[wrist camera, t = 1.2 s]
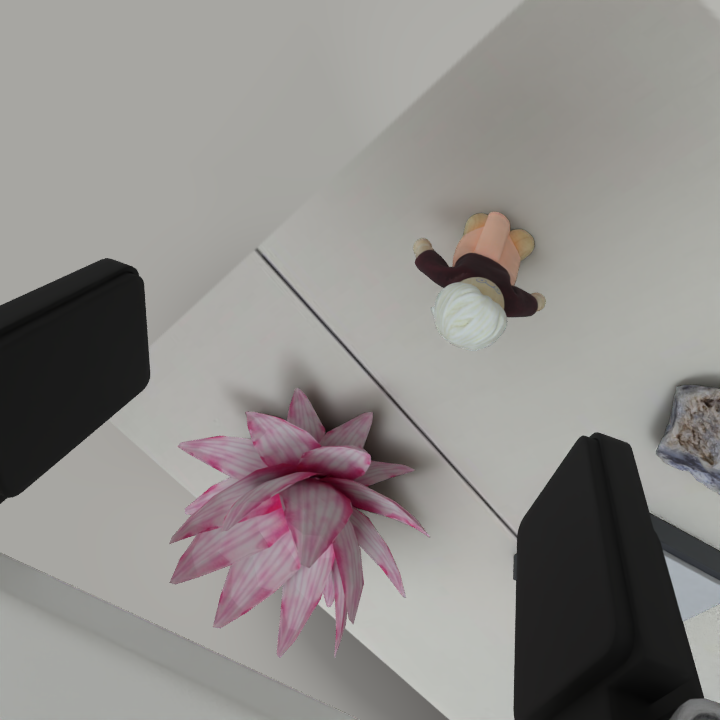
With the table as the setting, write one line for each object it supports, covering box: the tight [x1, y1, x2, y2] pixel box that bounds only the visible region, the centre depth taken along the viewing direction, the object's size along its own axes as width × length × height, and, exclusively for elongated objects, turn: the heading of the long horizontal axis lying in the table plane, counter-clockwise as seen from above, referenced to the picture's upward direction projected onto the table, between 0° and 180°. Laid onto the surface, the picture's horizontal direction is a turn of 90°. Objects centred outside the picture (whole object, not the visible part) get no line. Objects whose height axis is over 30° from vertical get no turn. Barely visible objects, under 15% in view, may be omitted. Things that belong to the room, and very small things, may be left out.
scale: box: [513, 514, 720, 621], centre depth 39 cm, size 12×12×3 cm
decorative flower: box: [170, 388, 430, 658], centre depth 38 cm, size 21×21×15 cm
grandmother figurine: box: [413, 212, 546, 351], centre depth 24 cm, size 8×4×13 cm, turn 81°
